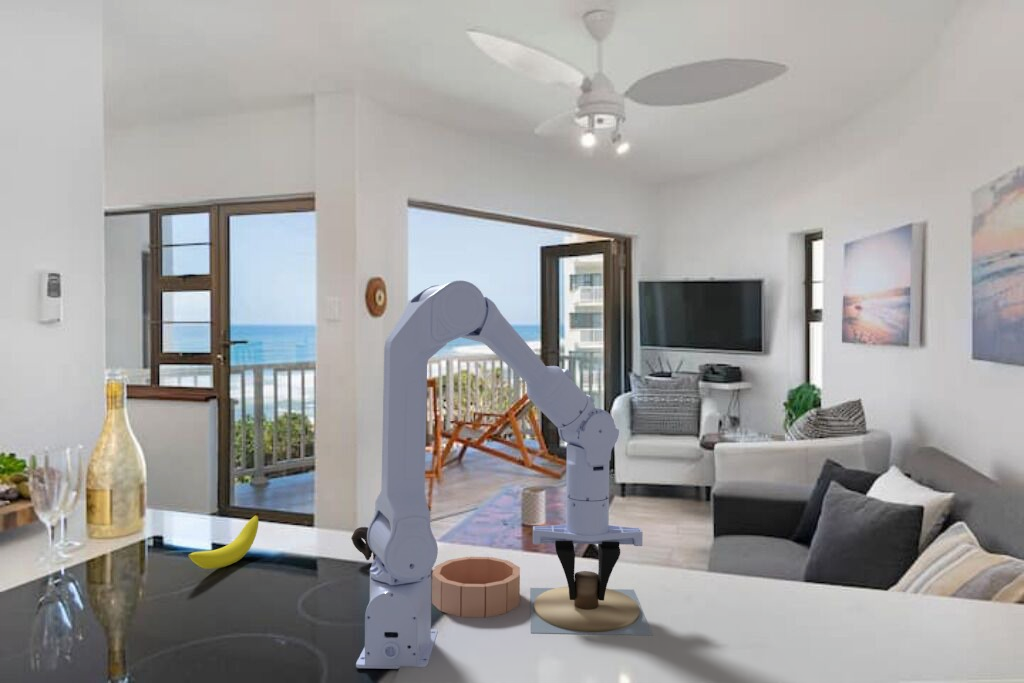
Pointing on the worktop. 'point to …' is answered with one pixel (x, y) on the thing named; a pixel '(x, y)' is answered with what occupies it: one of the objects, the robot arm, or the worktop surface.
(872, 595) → the worktop surface
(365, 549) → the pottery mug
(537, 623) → the rubber mat
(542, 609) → the oak lid
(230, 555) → the banana
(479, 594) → the terracotta bowl
